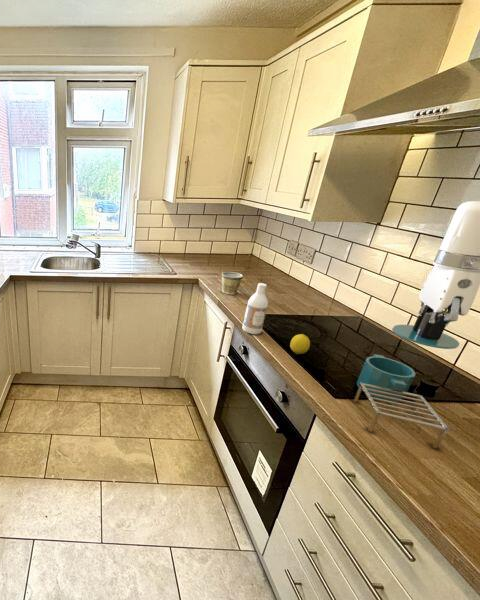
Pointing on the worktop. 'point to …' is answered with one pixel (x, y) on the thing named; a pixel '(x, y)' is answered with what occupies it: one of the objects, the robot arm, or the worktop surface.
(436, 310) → the robot arm
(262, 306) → the bath foam
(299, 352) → the lemon
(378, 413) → the rack
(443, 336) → the lid
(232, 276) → the ceramic cup
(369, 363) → the pot
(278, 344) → the worktop surface
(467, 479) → the worktop surface
